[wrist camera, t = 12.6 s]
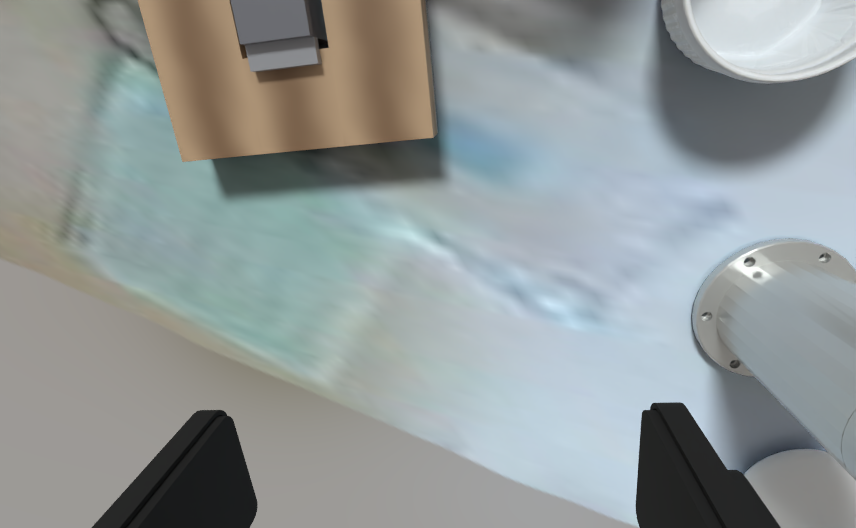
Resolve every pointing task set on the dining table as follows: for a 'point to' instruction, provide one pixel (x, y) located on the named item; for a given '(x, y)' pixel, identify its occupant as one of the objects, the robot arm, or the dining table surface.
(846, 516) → the flower in vase
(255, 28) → the flanged block
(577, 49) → the dining table surface
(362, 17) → the wooden board
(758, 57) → the ramekin
